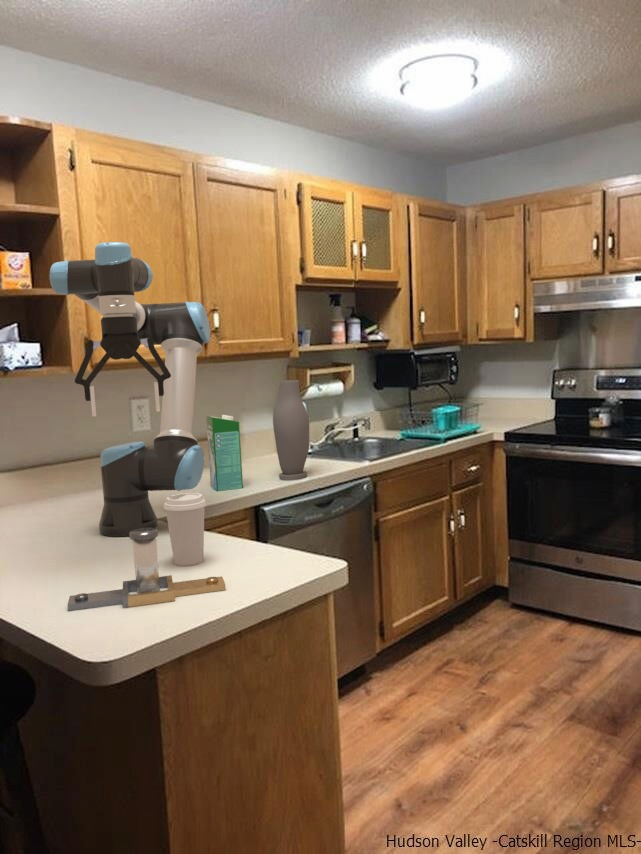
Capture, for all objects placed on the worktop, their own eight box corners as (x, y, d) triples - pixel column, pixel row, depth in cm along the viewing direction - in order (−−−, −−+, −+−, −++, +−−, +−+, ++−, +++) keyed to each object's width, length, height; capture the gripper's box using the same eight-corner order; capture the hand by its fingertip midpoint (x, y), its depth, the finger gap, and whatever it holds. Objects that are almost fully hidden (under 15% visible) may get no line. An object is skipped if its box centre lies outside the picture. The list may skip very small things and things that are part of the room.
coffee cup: (191, 552, 165) (187, 490, 163) (218, 559, 159) (214, 494, 157) (158, 563, 158) (153, 498, 156) (186, 571, 152) (181, 503, 150)
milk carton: (243, 488, 237) (238, 414, 234) (216, 491, 234) (212, 417, 231) (236, 483, 245) (231, 412, 242) (210, 486, 242) (206, 414, 239)
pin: (134, 592, 139) (129, 529, 138) (162, 589, 141) (157, 526, 139) (134, 602, 134) (129, 536, 132) (163, 598, 135) (158, 533, 134)
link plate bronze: (128, 590, 141) (128, 580, 141) (221, 578, 146) (220, 569, 145) (128, 607, 132) (127, 596, 132) (227, 593, 136) (226, 583, 136)
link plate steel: (71, 597, 138) (70, 587, 138) (167, 585, 143) (166, 575, 143) (66, 615, 129) (65, 605, 129) (169, 601, 134) (168, 591, 133)
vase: (297, 482, 243) (293, 381, 240) (267, 479, 250) (262, 381, 246) (317, 475, 254) (313, 379, 251) (288, 473, 261) (284, 379, 258)
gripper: (55, 317, 145) (65, 419, 148) (178, 313, 151) (185, 410, 154) (59, 319, 152) (68, 415, 155) (175, 314, 158) (182, 407, 161)
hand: (126, 413), depth 154 cm, fingers open, 13 cm apart
